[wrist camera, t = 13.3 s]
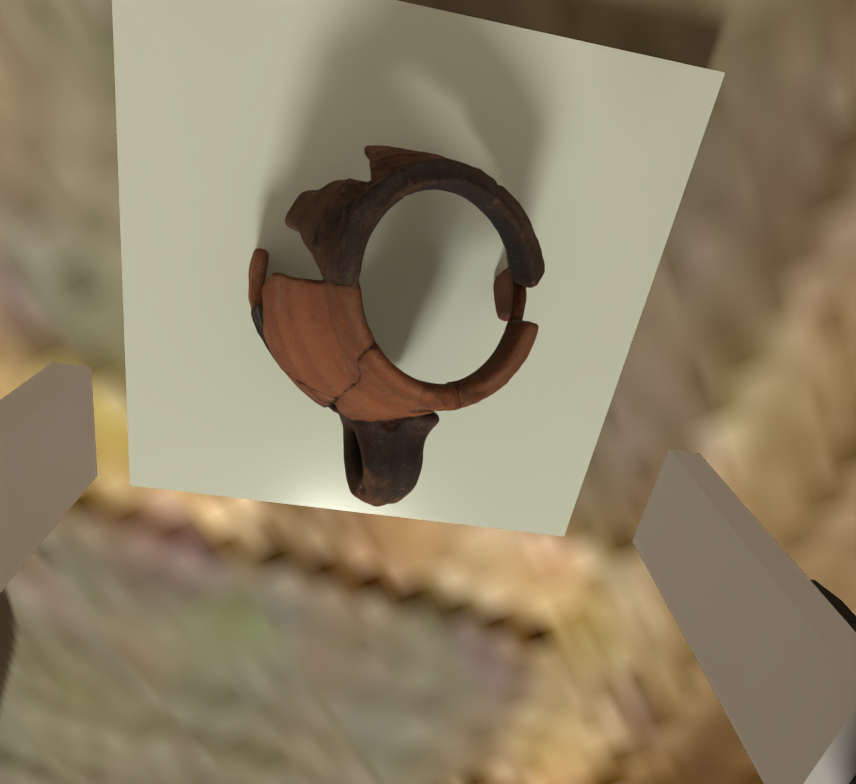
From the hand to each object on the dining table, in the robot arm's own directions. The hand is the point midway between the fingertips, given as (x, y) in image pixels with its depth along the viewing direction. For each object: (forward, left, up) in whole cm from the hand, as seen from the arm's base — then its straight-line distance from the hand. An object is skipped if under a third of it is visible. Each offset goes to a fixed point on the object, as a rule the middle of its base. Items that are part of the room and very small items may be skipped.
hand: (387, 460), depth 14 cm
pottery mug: (0, 0, -11) cm, 11 cm away
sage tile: (0, 0, -12) cm, 12 cm away
